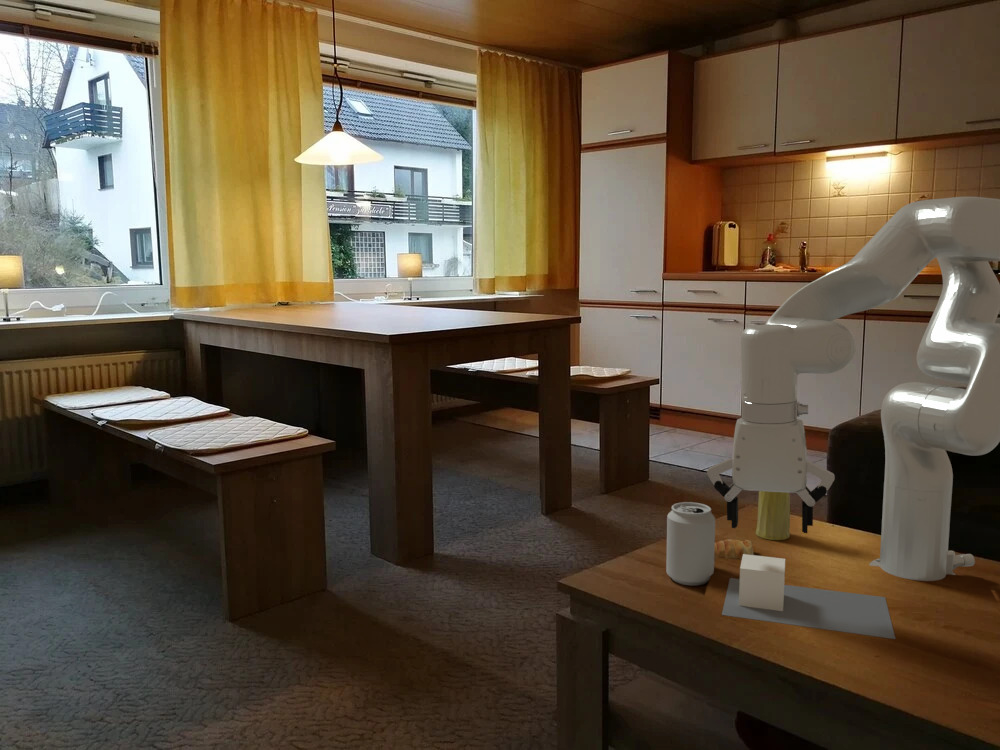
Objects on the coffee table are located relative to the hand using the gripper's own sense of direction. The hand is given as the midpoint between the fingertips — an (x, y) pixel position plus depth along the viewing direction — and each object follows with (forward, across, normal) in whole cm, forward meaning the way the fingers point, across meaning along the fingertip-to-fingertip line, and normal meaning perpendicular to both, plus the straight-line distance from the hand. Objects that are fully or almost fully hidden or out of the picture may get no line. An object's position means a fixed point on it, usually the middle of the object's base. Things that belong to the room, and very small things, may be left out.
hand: (769, 527), depth 115 cm
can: (+12, +12, -8) cm, 19 cm away
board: (+12, -5, +1) cm, 13 cm away
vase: (+14, +1, -34) cm, 36 cm away
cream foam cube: (+11, +1, +1) cm, 11 cm away
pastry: (+13, +7, -18) cm, 23 cm away
